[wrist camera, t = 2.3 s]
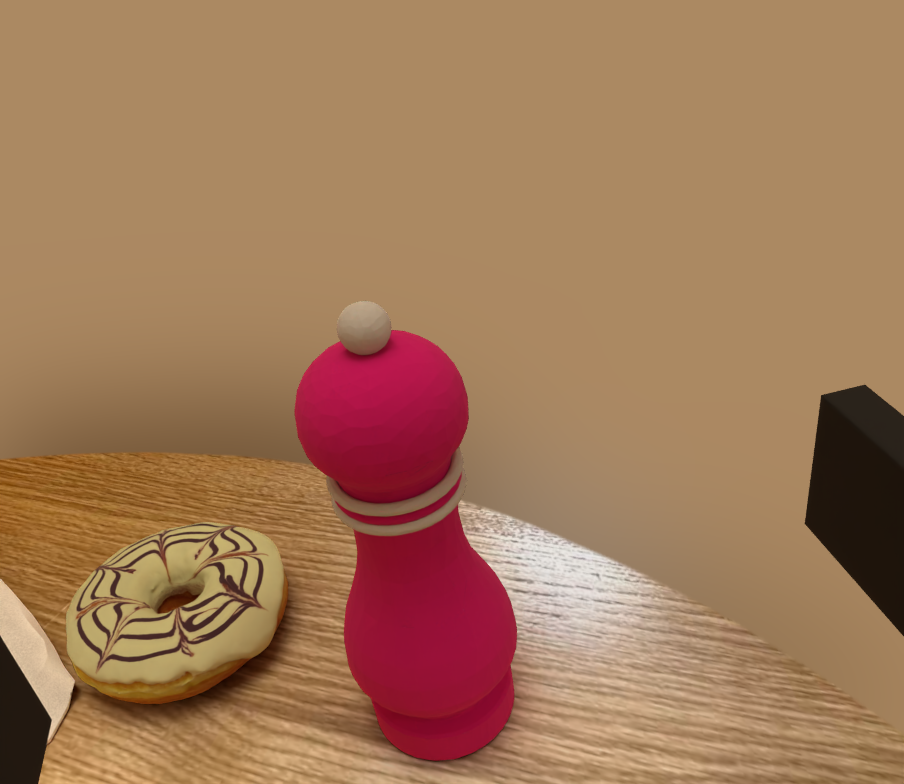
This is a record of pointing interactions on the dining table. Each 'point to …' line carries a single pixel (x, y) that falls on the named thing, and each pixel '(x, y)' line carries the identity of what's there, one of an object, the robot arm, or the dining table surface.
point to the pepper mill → (409, 537)
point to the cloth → (35, 657)
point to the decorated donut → (176, 612)
